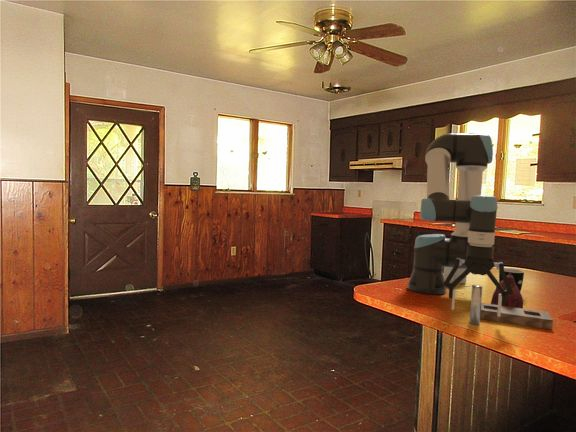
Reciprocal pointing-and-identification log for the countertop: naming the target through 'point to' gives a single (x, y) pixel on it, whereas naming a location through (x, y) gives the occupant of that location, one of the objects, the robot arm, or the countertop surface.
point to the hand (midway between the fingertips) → (475, 312)
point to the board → (517, 316)
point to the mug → (516, 274)
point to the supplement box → (456, 275)
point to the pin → (475, 304)
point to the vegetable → (511, 300)
